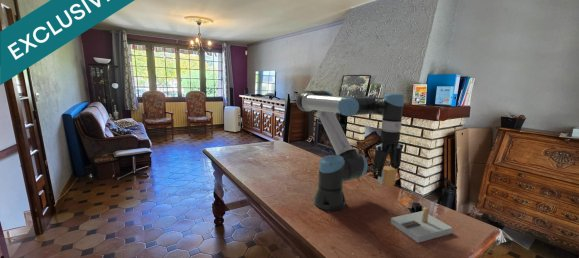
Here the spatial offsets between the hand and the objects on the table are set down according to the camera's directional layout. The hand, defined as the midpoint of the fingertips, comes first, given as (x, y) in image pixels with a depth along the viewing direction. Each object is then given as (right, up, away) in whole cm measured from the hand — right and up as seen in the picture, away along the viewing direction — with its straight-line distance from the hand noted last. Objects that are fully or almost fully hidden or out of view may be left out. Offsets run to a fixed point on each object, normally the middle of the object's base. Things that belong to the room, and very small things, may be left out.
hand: (385, 182), depth 109 cm
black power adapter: (+17, -16, +7) cm, 24 cm away
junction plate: (+12, -18, -6) cm, 22 cm away
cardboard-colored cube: (0, 0, 0) cm, 0 cm away
